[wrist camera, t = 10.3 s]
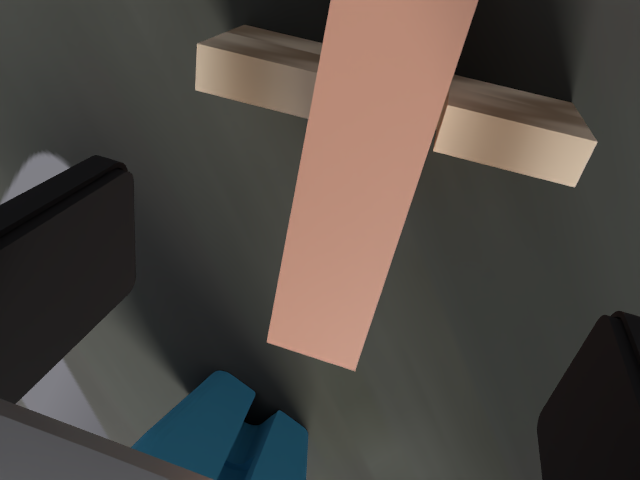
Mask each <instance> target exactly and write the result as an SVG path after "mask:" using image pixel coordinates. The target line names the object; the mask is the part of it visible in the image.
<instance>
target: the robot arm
mask: <svg viewBox="0 0 640 480" xmlns="http://www.w3.org/2000/svg"><path fill="white" fill-rule="evenodd" d="M135 278H136V267H135V222H134V180H133V176H132V174H131V173H130V172H128V170H127V168H126V165H125V164H123V163H121V162H118V161H115V160H111V159H108V158H105V157H101V156H97V155H95V156H92V157H90V158H88V159H86V160H84V161H82V162H80V163H79V164H77V165H75V166H73V167H71V168H69V169H67V170H65V171H64V172H62V173H60V174H58V175H56V176H54V177H52V178H50V179H48V180H47V181H45V182H43V183H41V184H39V185H37V186H35V187H33V188H32V189H30V190H28V191H26V192H24V193H22V194H20V195H18V196H16V197H15V198H13V199H11V200H9V201H7V202H5V203H3V204H1V205H0V480H214V479H211V478H208V477H206V476H203V475H200V474H198V473H195V472H193V471H190V470H187V469H185V468H182V467H180V466H177V465H174V464H172V463H169V462H166V461H164V460H161V459H159V458H156V457H153V456H151V455H148V454H146V453H143V452H140V451H138V450H135V449H132V448H130V447H127V446H125V445H122V444H119V443H117V442H114V441H111V440H109V439H106V438H103V437H101V436H98V435H95V434H93V433H90V432H87V431H85V430H82V429H80V428H77V427H74V426H72V425H69V424H66V423H64V422H61V421H58V420H56V419H53V418H50V417H48V416H45V415H42V414H40V413H37V412H34V411H32V410H29V409H26V408H24V407H21V406H18V405H16V404H15V403H17V402H18V401H19V400H20V399H21V398H22V397H23V396H24V395H25V394H26V393H27V392H28V391H29V390H30V389H31V388H32V387H33V386H34V385H35V384H36V383H37V382H39V381H40V380H41V379H42V378H43V377H44V376H45V374H47V373H48V372H49V371H50V370H51V369H52V368H53V367H54V366H55V365H56V364H57V363H58V362H59V361H60V360H61V359H62V358H63V357H64V356H65V355H66V354H67V353H68V352H69V351H70V350H71V349H72V348H73V347H74V346H75V345H77V344H78V343H79V342H80V341H81V340H82V339H83V338H84V337H85V336H86V335H87V334H88V333H89V332H90V331H91V330H92V329H93V328H94V327H95V326H96V325H97V324H98V323H99V322H100V321H101V320H102V319H103V318H104V317H105V316H106V315H107V314H108V313H109V312H110V311H111V310H112V309H113V308H115V307H116V306H117V305H118V304H119V303H120V302H121V301H122V300H123V299H124V298H125V297H126V296H127V295H128V294H129V293H130V291H131V290H132V288H133V286H134V283H135ZM537 435H538V443H539V452H540V461H541V470H542V479H543V480H640V317H639V316H635V315H632V314H629V313H625V312H622V311H616V312H615V313H613V314H612V315H611V316H607V315H603V316H601V317H600V318H599V319H598V321H597V322H596V324H595V326H594V327H593V329H592V330H591V332H590V334H589V335H588V337H587V338H586V340H585V342H584V343H583V345H582V347H581V348H580V350H579V351H578V353H577V355H576V356H575V358H574V359H573V361H572V363H571V364H570V366H569V368H568V369H567V371H566V372H565V374H564V376H563V377H562V379H561V380H560V382H559V384H558V385H557V387H556V389H555V390H554V392H553V393H552V395H551V397H550V398H549V400H548V401H547V403H546V405H545V406H544V408H543V410H542V411H541V413H540V416H539V419H538V424H537Z"/></svg>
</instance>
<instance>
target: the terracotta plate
mask: <svg viewBox="0 0 640 480" xmlns="http://www.w3.org/2000/svg"><path fill="white" fill-rule="evenodd" d="M477 3H478V0H331V2H330V7H329V12H328V18H327V23H326V28H325V34H324V39H323V44H322V50H321V55H320V60H319V66H318V71H317V76H316V82H315V87H314V92H313V98H312V103H311V108H310V114H309V119H308V124H307V130H306V135H305V140H304V146H303V151H302V156H301V162H300V167H299V172H298V178H297V183H296V188H295V194H294V199H293V205H292V210H291V215H290V221H289V226H288V231H287V237H286V242H285V247H284V253H283V258H282V263H281V269H280V274H279V279H278V285H277V290H276V295H275V301H274V306H273V311H272V317H271V322H270V327H269V333H268V338H267V343H270V344H273V345H276V346H279V347H283V348H286V349H289V350H292V351H295V352H298V353H301V354H304V355H307V356H310V357H313V358H316V359H319V360H322V361H326V362H329V363H332V364H335V365H338V366H341V367H344V368H347V369H350V370H353V371H355V369H356V366H357V363H358V360H359V357H360V354H361V351H362V348H363V345H364V342H365V339H366V336H367V333H368V330H369V327H370V324H371V321H372V318H373V315H374V312H375V309H376V306H377V303H378V300H379V297H380V294H381V291H382V288H383V285H384V282H385V279H386V276H387V273H388V270H389V267H390V264H391V261H392V258H393V255H394V252H395V249H396V246H397V243H398V240H399V237H400V234H401V231H402V228H403V225H404V222H405V219H406V216H407V213H408V210H409V207H410V204H411V201H412V198H413V195H414V192H415V189H416V186H417V183H418V180H419V177H420V174H421V171H422V168H423V165H424V162H425V159H426V156H427V153H428V150H429V147H430V144H431V141H432V138H433V135H434V132H435V129H436V126H437V123H438V120H439V117H440V114H441V111H442V108H443V105H444V102H445V99H446V96H447V93H448V90H449V87H450V84H451V81H452V78H453V75H454V72H455V69H456V66H457V63H458V60H459V57H460V54H461V51H462V48H463V45H464V42H465V39H466V36H467V33H468V30H469V27H470V24H471V21H472V18H473V15H474V12H475V9H476V6H477Z"/></svg>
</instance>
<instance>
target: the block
mask: <svg viewBox="0 0 640 480" xmlns="http://www.w3.org/2000/svg"><path fill="white" fill-rule="evenodd" d="M254 397H255V392H254V391H253V390H252V389H251V388H249V387H248V386H246V385H245V384H244V383H242V382H241V381H240V380H238V379H237V378H235V377H234V376H233V375H231V374H230V373H228V372H225V371H215V372H214V373H212V374H211V375H210V376H209V377H208V378H207V379H206V380H205V381H203V382H202V383H201V384H200V385H199V386H198V387H197V388H196V389H194V390H193V391H192V392H191V393H190V394H189V395H188V396H187V397H185V398H184V399H183V400H182V401H181V402H180V403H179V404H178V405H176V406H175V407H174V408H173V409H172V410H171V411H170V412H169V413H167V414H166V415H165V416H164V417H163V418H162V419H161V420H160V421H159V422H157V423H156V424H155V425H154V426H153V427H152V428H151V429H150V430H148V431H147V432H146V433H145V434H144V435H143V436H142V437H141V438H140V439H139V440H138V441H137V442H136V443H135V444H134V445H133V446H132V447H131V448H132V449H135V450H138V451H140V452H143V453H146V454H148V455H151V456H153V457H156V458H159V459H161V460H164V461H166V462H169V463H172V464H174V465H177V466H180V467H182V468H185V469H187V470H190V471H193V472H195V473H198V474H200V475H203V476H206V477H208V478H211V479H214V480H306V469H307V450H308V432H307V430H306V429H305V428H304V427H303V426H301V425H300V424H299V423H297V422H296V421H295V420H293V419H292V418H290V417H289V416H288V415H286V414H285V413H284V412H282V411H281V410H278V411H277V412H276V413H275V414H273V415H272V416H271V417H269V418H268V419H267V420H266V421H264V422H263V423H262V424H260V425H250V424H248V423H246V422H244V419H245V417H246V415H247V413H248V410H249V408H250V406H251V404H252V402H253V400H254Z"/></svg>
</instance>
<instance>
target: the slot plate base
mask: <svg viewBox="0 0 640 480" xmlns="http://www.w3.org/2000/svg"><path fill="white" fill-rule="evenodd" d="M322 44H323V43H320V42H315V41H311V40H307V39H303V38H299V37H294V36H290V35H286V34H282V33H278V32H273V31H269V30H265V29H261V28H257V27H252V26H248V25H242V26H240V27H237V28H235V29H232V30H230V31H227V32H225V33H222V34H220V35H217V36H215V37H212V38H210V39H207V40H205V41H202V42H200V43H197V59H196V84H195V90H197V91H201V92H205V93H209V94H213V95H217V96H221V97H225V98H228V99H232V100H236V101H240V102H244V103H248V104H252V105H256V106H260V107H263V108H267V109H271V110H275V111H279V112H283V113H287V114H291V115H295V116H299V117H302V118H306V119H309V114H310V108H311V103H312V98H313V92H314V87H315V82H316V76H317V71H318V66H319V60H320V55H321V50H322ZM436 128H437V129H436V136H435V142H434V149H433V151H435V152H439V153H443V154H447V155H451V156H454V157H458V158H462V159H466V160H470V161H474V162H478V163H482V164H486V165H489V166H493V167H497V168H501V169H505V170H509V171H513V172H517V173H521V174H525V175H528V176H532V177H536V178H540V179H544V180H548V181H552V182H556V183H560V184H564V185H567V186H571V187H575V186H576V184H577V182H578V180H579V178H580V176H581V174H582V172H583V170H584V168H585V166H586V164H587V162H588V160H589V158H590V156H591V154H592V152H593V150H594V148H595V146H596V144H597V140H596V139H595V137H594V136H593V134H592V132H591V131H590V129H589V128H588V126H587V125H586V123H585V122H584V120H583V119H582V117H581V115H580V114H579V112H578V111H577V109H576V108H575V106H574V105H573V103H571V102H567V101H563V100H558V99H554V98H550V97H546V96H542V95H538V94H533V93H529V92H525V91H521V90H517V89H512V88H508V87H504V86H500V85H496V84H491V83H487V82H483V81H479V80H475V79H470V78H466V77H462V76H458V75H453V78H452V81H451V84H450V87H449V90H448V93H447V96H446V99H445V102H444V105H443V108H442V111H441V114H440V117H439V120H438V123H437V126H436Z"/></svg>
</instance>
